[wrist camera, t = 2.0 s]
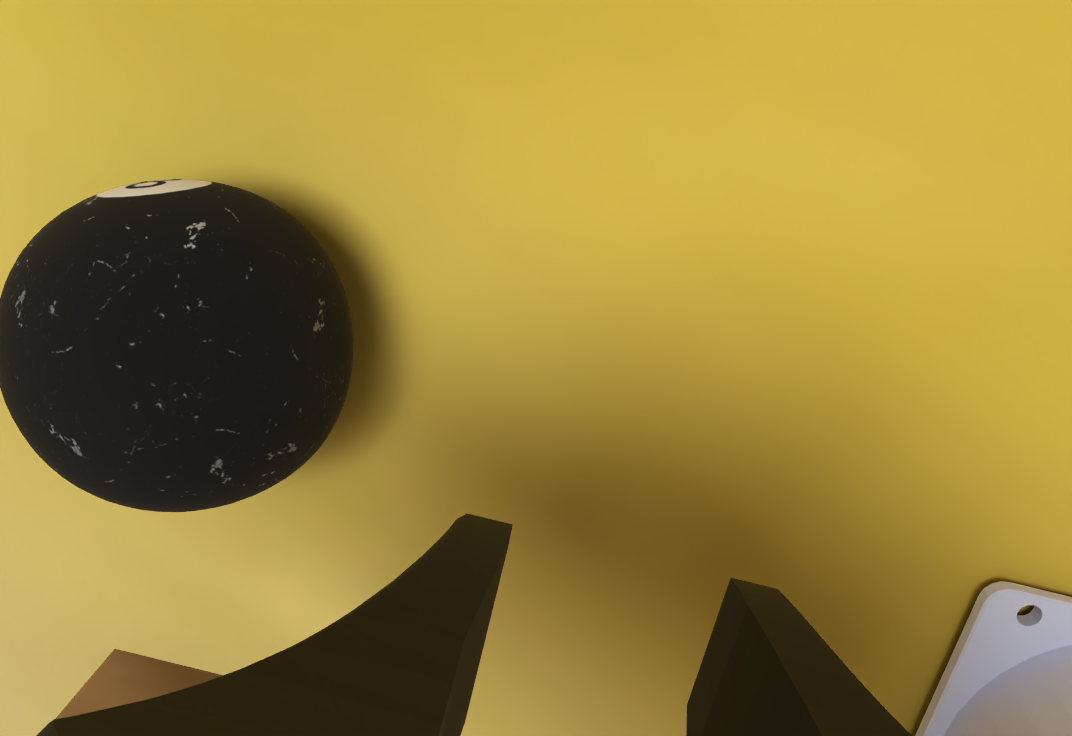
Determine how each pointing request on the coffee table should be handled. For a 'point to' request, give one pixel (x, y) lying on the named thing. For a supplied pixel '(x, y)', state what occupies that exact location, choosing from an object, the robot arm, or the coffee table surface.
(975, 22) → the coffee table surface
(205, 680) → the walnut block
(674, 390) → the coffee table surface
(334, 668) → the robot arm
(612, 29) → the coffee table surface
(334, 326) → the billiard ball
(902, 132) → the coffee table surface
